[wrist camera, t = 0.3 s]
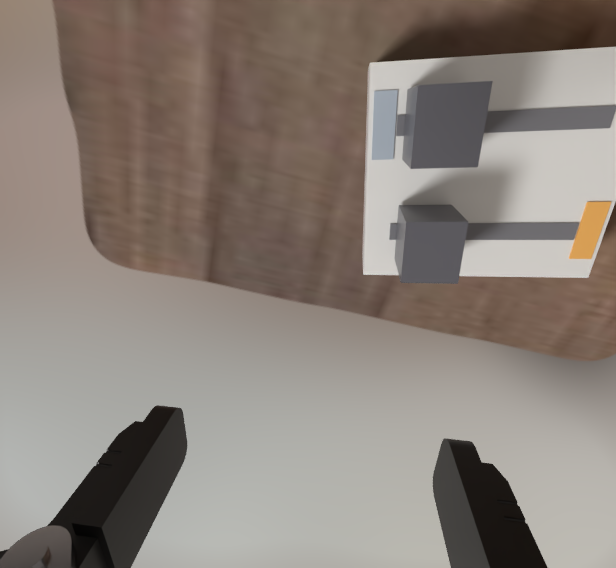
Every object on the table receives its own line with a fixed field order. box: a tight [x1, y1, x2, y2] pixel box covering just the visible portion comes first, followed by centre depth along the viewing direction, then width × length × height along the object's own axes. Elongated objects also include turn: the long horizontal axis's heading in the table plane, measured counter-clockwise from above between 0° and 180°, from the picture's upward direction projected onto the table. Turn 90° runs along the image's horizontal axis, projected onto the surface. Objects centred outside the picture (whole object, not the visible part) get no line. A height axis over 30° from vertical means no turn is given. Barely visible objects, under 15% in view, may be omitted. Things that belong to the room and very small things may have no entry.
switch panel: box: [362, 47, 616, 278], centre depth 24 cm, size 16×14×4 cm
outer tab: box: [395, 205, 468, 284], centre depth 23 cm, size 4×4×4 cm
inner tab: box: [402, 81, 493, 169], centre depth 19 cm, size 4×4×4 cm
